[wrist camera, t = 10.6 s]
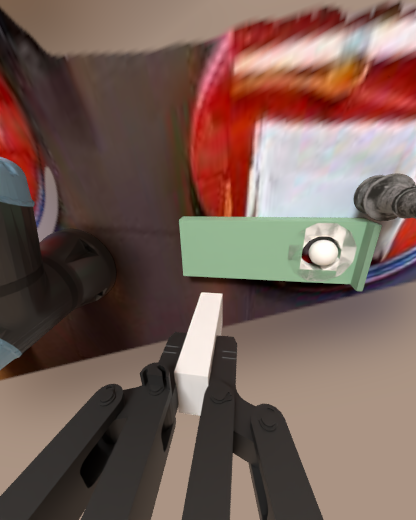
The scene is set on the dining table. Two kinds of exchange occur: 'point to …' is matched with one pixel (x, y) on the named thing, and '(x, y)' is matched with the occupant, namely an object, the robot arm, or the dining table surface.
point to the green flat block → (276, 248)
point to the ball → (323, 252)
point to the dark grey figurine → (387, 197)
